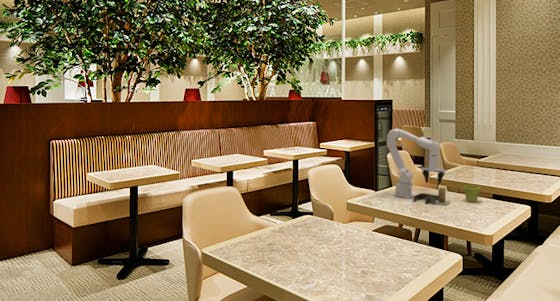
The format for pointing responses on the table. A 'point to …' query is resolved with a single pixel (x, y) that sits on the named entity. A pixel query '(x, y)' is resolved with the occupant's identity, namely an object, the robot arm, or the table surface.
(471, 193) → the plant pot
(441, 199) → the peg
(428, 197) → the walled course
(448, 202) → the end pad
